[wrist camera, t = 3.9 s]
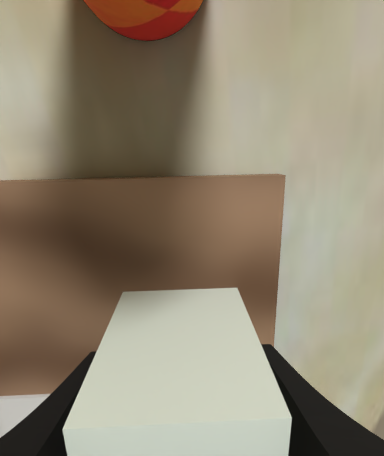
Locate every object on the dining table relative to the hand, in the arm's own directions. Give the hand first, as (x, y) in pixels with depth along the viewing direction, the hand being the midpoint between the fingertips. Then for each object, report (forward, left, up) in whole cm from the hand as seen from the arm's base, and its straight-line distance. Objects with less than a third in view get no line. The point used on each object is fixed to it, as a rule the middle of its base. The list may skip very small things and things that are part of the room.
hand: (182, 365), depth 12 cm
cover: (0, 0, -2) cm, 2 cm away
